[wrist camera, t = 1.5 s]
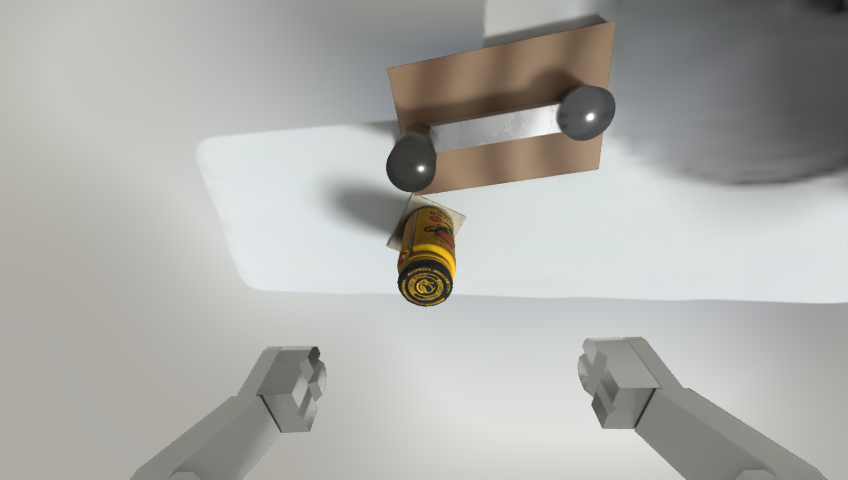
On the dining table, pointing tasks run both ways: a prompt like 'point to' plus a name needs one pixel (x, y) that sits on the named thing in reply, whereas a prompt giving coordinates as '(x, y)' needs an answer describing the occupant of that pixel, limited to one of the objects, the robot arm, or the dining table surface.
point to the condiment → (426, 251)
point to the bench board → (505, 103)
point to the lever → (497, 131)
